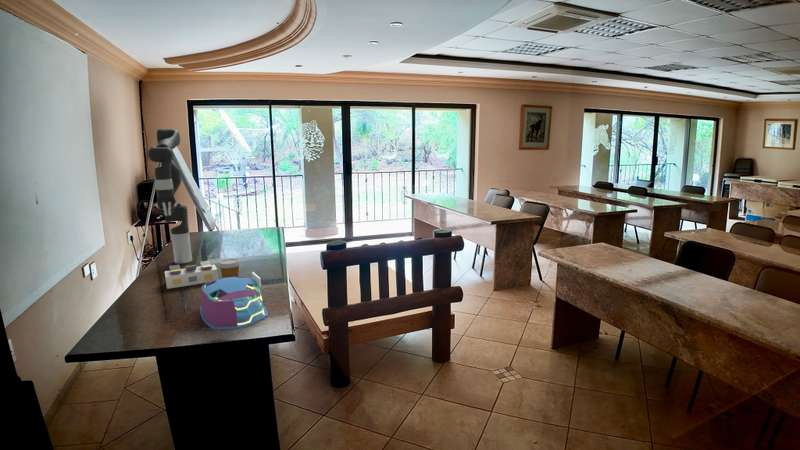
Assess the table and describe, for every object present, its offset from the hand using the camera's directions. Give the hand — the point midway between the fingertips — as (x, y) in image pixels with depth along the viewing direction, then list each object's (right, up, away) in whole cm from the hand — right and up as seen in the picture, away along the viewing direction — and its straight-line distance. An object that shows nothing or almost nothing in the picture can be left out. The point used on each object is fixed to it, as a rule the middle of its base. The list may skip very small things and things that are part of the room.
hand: (168, 222), depth 219 cm
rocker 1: (+6, -23, -6) cm, 25 cm away
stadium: (+47, -38, -38) cm, 72 cm away
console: (+12, -30, -1) cm, 32 cm away
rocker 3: (+18, -22, +1) cm, 28 cm away
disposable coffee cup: (+34, -31, -6) cm, 46 cm away
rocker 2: (+12, -22, -2) cm, 26 cm away
